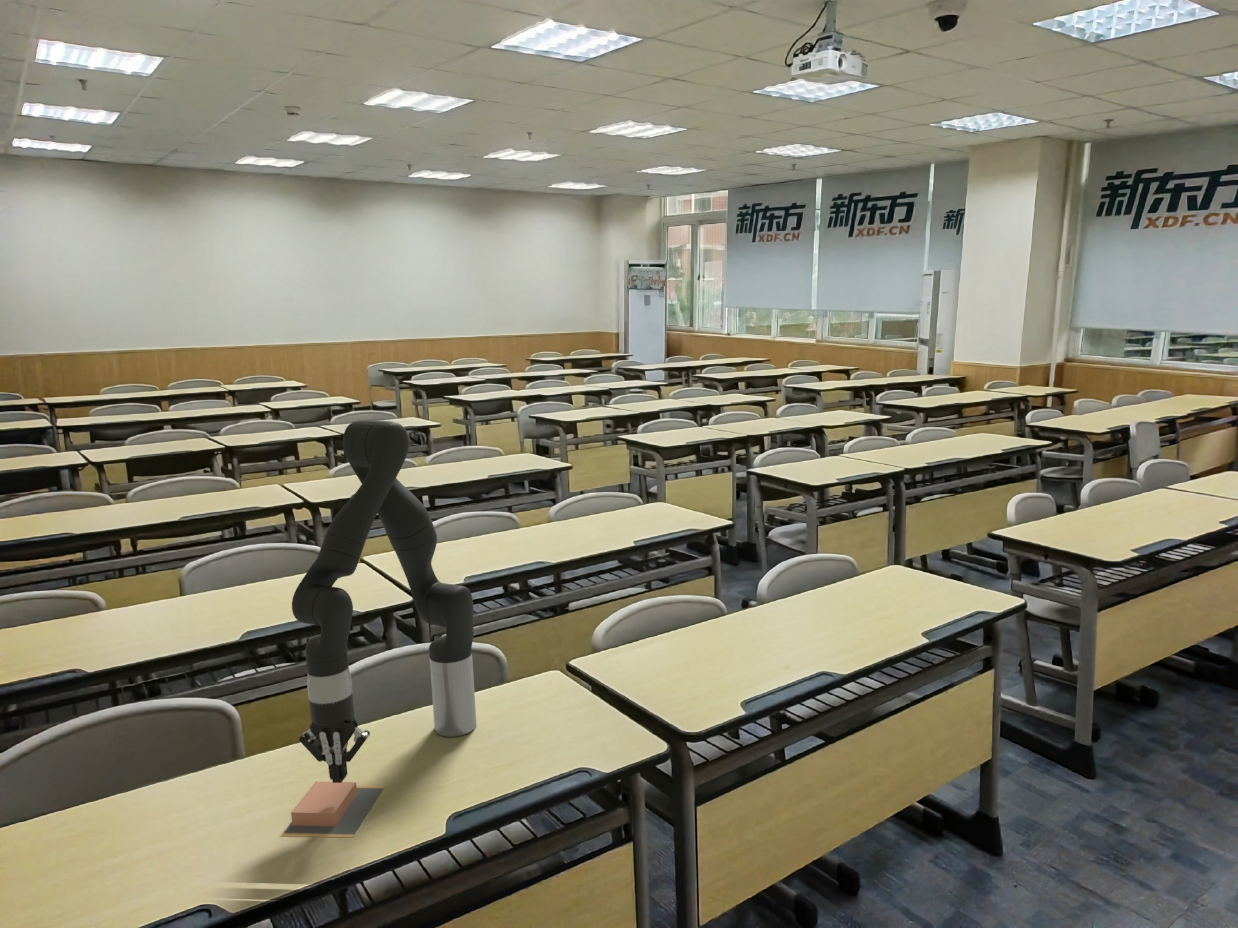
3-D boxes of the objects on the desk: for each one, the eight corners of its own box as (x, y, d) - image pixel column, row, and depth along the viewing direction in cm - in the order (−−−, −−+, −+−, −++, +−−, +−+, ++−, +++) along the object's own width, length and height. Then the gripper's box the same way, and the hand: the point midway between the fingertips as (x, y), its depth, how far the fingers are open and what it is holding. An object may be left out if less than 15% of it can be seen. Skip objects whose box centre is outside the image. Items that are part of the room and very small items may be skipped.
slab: (357, 794, 156) (316, 793, 157) (356, 782, 156) (315, 781, 156) (335, 826, 146) (292, 825, 147) (334, 813, 146) (291, 812, 146)
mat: (320, 787, 160) (320, 784, 160) (385, 788, 159) (385, 785, 159) (281, 838, 144) (280, 835, 144) (352, 840, 143) (352, 837, 143)
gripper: (373, 683, 150) (381, 769, 153) (304, 683, 151) (313, 768, 154) (358, 702, 143) (366, 792, 146) (285, 701, 144) (294, 791, 147)
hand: (338, 780), depth 150 cm, fingers closed
